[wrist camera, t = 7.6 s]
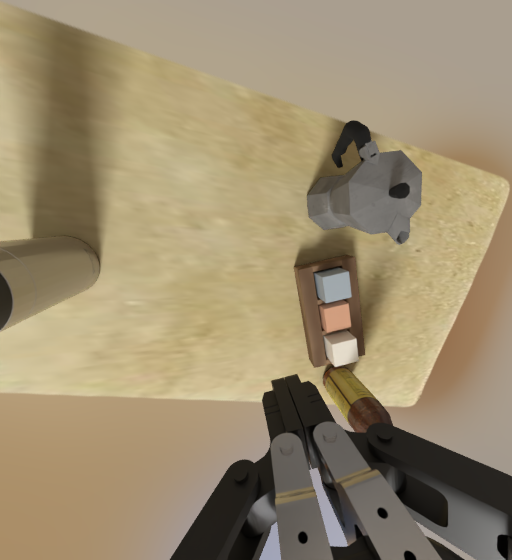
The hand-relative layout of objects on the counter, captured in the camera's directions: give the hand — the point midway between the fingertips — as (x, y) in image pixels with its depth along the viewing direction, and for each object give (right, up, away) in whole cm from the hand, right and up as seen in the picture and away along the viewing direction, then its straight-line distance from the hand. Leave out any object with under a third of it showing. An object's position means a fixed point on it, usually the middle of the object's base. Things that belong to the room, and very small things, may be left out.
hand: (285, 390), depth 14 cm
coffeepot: (+11, +20, +29) cm, 37 cm away
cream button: (+13, -6, +33) cm, 36 cm away
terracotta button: (+12, 0, +33) cm, 35 cm away
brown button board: (+12, +1, +33) cm, 35 cm away
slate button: (+11, +6, +30) cm, 32 cm away
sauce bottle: (+15, -14, +37) cm, 42 cm away
